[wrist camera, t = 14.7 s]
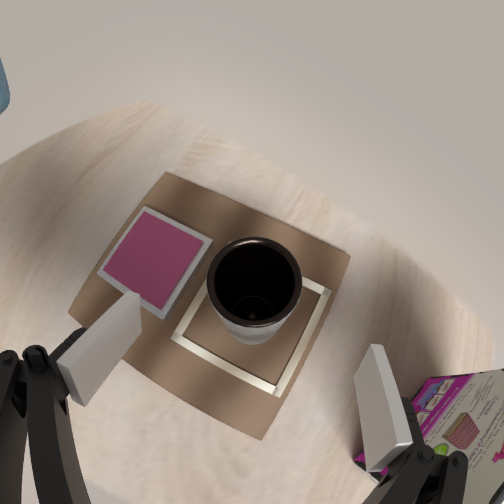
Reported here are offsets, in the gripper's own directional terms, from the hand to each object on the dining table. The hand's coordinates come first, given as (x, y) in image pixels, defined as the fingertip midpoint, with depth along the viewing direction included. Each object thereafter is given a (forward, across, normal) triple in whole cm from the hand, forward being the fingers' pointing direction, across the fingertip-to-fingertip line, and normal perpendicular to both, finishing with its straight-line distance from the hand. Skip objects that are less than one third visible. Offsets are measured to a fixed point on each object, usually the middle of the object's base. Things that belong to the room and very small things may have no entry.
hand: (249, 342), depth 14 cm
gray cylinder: (+7, 0, -4) cm, 8 cm away
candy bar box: (+2, +16, -10) cm, 20 cm away
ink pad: (+9, -10, -1) cm, 14 cm away
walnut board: (+9, -5, -3) cm, 11 cm away
